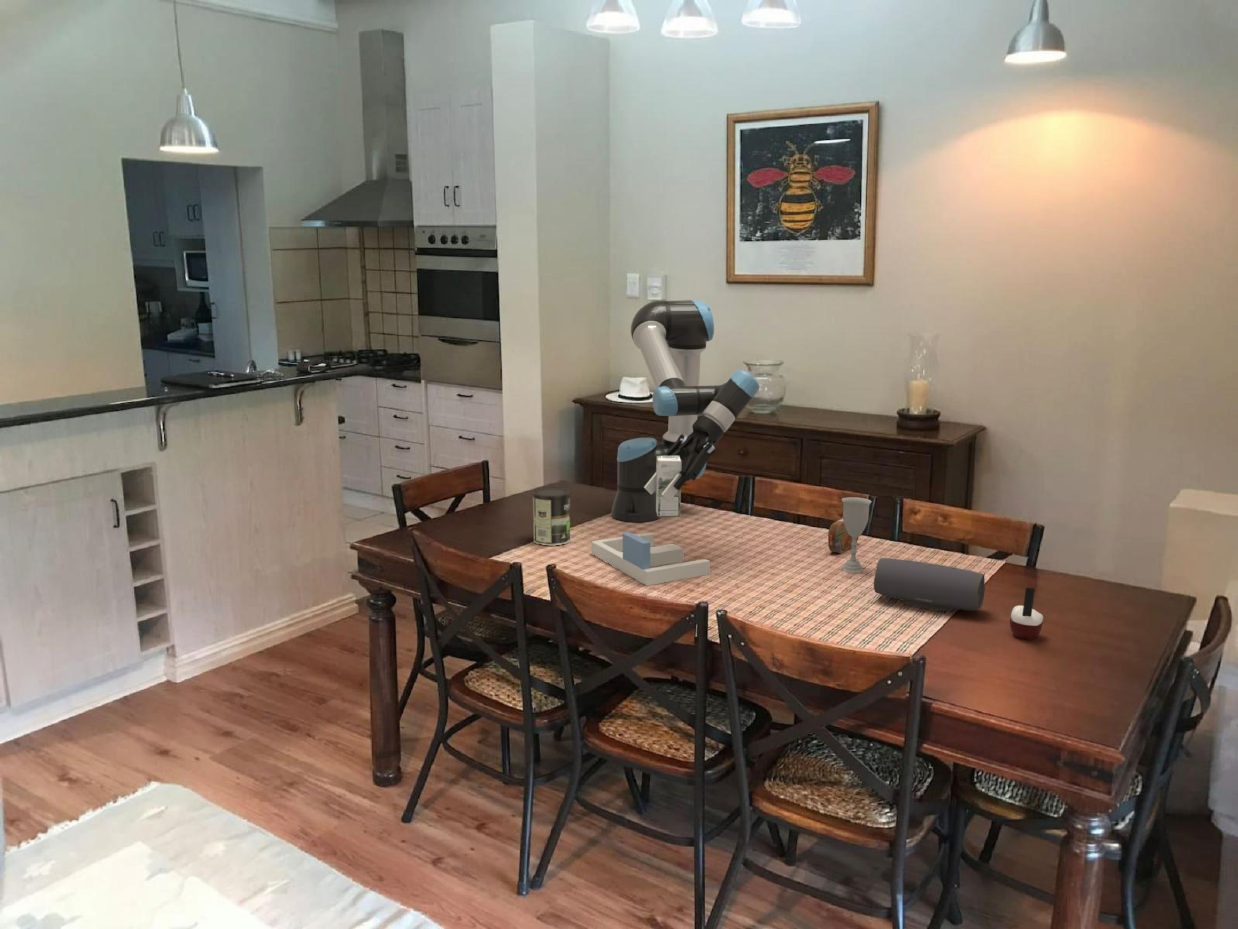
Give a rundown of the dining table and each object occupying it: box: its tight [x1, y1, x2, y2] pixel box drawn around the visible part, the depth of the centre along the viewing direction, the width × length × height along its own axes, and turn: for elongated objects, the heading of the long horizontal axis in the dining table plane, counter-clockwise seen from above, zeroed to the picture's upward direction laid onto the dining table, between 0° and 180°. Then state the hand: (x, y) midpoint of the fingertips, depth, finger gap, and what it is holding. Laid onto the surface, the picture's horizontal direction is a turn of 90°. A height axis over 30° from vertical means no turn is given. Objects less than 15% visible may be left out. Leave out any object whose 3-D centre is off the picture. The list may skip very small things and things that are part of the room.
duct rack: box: [590, 531, 711, 587], centre depth 252 cm, size 29×18×10 cm, turn 29°
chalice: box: [841, 496, 872, 574], centre depth 248 cm, size 7×7×18 cm
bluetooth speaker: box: [873, 557, 986, 612], centre depth 223 cm, size 23×9×10 cm, turn 59°
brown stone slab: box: [827, 517, 860, 554], centre depth 266 cm, size 15×3×8 cm, turn 143°
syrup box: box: [656, 456, 682, 518], centre depth 243 cm, size 6×6×14 cm
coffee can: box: [532, 487, 571, 547], centre depth 272 cm, size 10×10×14 cm
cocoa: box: [1009, 587, 1044, 641], centre depth 205 cm, size 10×6×12 cm, turn 137°
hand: (656, 494), depth 242 cm, fingers closed on syrup box, 7 cm apart
